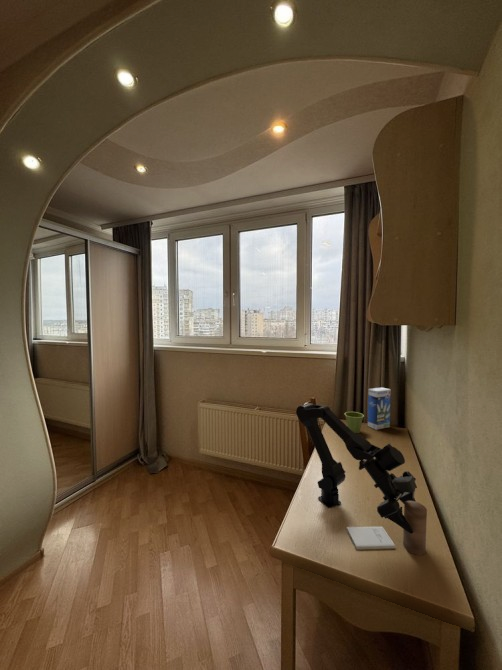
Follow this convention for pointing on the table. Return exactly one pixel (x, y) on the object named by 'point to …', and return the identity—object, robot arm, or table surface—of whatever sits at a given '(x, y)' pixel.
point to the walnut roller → (415, 527)
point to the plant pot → (354, 421)
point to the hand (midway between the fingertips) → (416, 525)
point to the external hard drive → (370, 538)
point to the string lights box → (379, 408)
